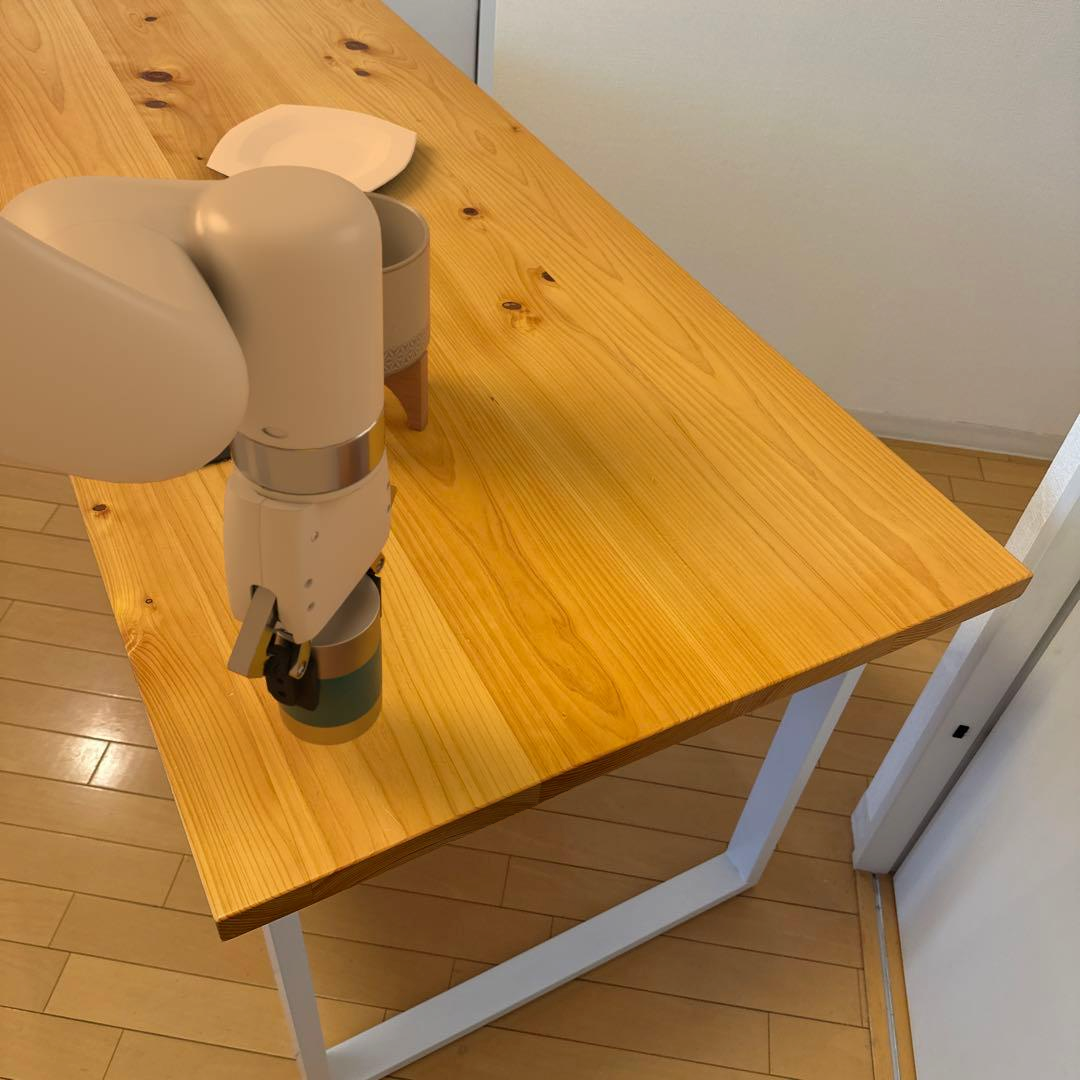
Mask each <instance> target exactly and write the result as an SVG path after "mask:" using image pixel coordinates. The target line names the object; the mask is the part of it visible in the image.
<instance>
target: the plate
mask: <svg viewBox="0 0 1080 1080" xmlns="http://www.w3.org/2000/svg"><path fill="white" fill-rule="evenodd" d="M417 138H418V133H417V132H416V131H413V130H410V129H408V128H406V127H404V126H401V125H399V124H396V123H394V122H390V121H388V120H386V119H382V118H379V117H376V116H373V115H370V114H366V113H362V112H359V111H355V110H348V109H342V108H337V107H336V108H335V107H327V106H319V105H318V106H317V105H305V104H303V105H301V104H289V103H287V104H286V103H280V104H278V105H275V106H273V107H270V108H268V109H266V110H264V111H261V112H259V113H257V114H255V115H253V116H250V117H248V118H247V119H244V120H243V121H241V122H239V123H238V124H236V125H235V126H234V127H232V128H230V129H229V130H228V131H227V132H226V133H225V134H224V135H223V136H222V137H221V138H220V140H219V141H218V142H217V144H216V145H215V147H214V149H213V151H212V152H211V154H210V156H209V158H208V160H207V163H206V168H207V169H208V170H211V171H213V172H215V173H217V174H220V175H222V176H224V177H226V178H229V177H231V176H233V175H235V174H238V173H241V172H243V171H247V170H251V169H255V168H261V167H268V166H303V167H310V168H316V169H320V170H324V171H328V172H331V173H333V174H336V175H338V176H340V177H342V178H344V179H346V180H348V181H349V182H351V183H353V184H354V185H356V186H357V187H358V188H359V189H361V190H362V191H365V192H372V193H374V192H375V191H377V190H378V189H381V188H382V187H383V186H385V185H387V184H388V183H389V182H391V181H393V180H395V179H396V177H398V176H399V175H400V174H401V173H402V172H404V171H405V170H406V168H407V166H408V165H409V163H410V161H411V159H412V157H413V154H414V152H415V148H416V145H417Z"/></svg>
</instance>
